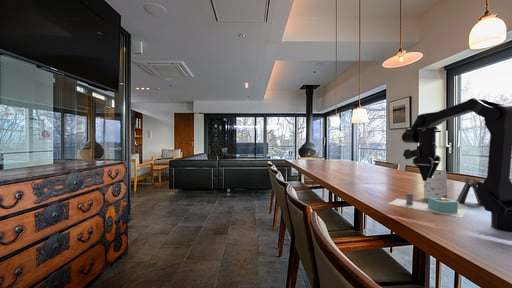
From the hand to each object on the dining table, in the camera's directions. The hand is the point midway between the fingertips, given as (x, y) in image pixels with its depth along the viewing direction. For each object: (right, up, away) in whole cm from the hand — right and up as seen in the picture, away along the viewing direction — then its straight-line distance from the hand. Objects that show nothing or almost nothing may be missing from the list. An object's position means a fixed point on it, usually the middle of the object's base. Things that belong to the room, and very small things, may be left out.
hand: (427, 179), depth 93 cm
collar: (+1, -11, -7) cm, 13 cm away
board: (-3, -12, -2) cm, 13 cm away
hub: (+1, -11, -7) cm, 13 cm away
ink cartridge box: (+12, -12, +10) cm, 19 cm away
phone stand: (+21, -12, +2) cm, 24 cm away
